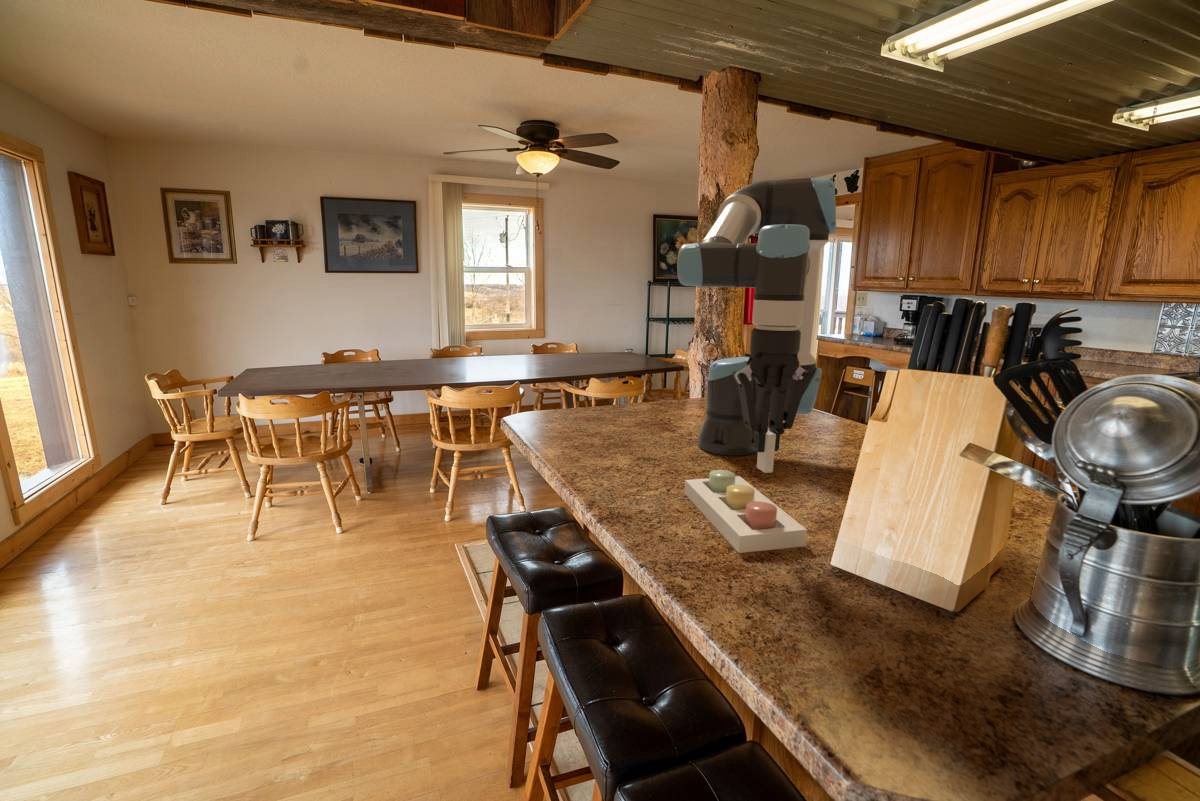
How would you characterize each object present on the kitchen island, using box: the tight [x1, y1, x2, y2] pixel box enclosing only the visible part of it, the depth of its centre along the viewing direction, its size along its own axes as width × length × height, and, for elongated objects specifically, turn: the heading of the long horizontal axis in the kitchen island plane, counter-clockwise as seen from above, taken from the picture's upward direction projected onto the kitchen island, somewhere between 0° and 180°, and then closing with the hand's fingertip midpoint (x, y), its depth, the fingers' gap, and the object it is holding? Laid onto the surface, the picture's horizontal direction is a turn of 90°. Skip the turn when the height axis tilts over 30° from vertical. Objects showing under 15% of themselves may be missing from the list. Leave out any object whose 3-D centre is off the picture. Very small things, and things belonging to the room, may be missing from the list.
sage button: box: [708, 469, 736, 493], centre depth 110 cm, size 5×5×3 cm
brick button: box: [745, 501, 777, 530], centre depth 95 cm, size 5×5×3 cm
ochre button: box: [726, 484, 755, 510], centre depth 102 cm, size 5×5×3 cm
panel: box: [683, 475, 808, 554], centre depth 103 cm, size 12×25×3 cm, turn 12°
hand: (764, 469), depth 92 cm, fingers closed
